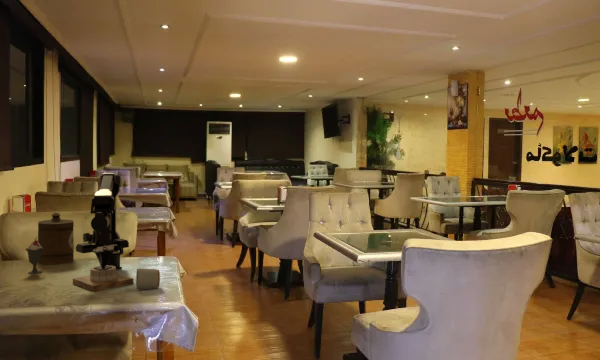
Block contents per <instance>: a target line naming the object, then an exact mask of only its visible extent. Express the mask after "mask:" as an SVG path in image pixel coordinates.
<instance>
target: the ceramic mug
mask: <svg viewBox="0 0 600 360" xmlns="http://www.w3.org/2000/svg"><path fill="white" fill-rule="evenodd" d="M160 278H161V272H160V270H159V269H157V268H136V277H135V280H136V281H135V282H136V283H135V286H136V290H137V291H139V290H140V291H141V290H142V291H143V290H153V289H154V290H155V289H158V288H159V287H160V282H161V279H160Z"/></svg>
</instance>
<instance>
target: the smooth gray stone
mask: <svg viewBox="0 0 600 360" xmlns="http://www.w3.org/2000/svg"><path fill="white" fill-rule="evenodd" d="M108 269H110V267H105V268H101V267H98V268H96V270H108Z"/></svg>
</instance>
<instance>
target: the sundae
mask: <svg viewBox="0 0 600 360" xmlns="http://www.w3.org/2000/svg"><path fill="white" fill-rule="evenodd" d="M42 249H44V248H42V247H41V246H40V244H39V243H38V236H37V237H36V236H35V238H34V240H33V242H31V243H30V245H29V246H28V247H27V248H25V251H26V252H27V256H28V263H30V264H31V265H32V269H31V271H29V272H28V273H27V274H29V275H38V274H41V273H42V271H40V270H38V269H37V265H38V264H40V263H39V262H40V259H41V252H42Z"/></svg>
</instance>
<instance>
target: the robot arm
mask: <svg viewBox="0 0 600 360" xmlns="http://www.w3.org/2000/svg"><path fill="white" fill-rule="evenodd" d="M99 186H100V188H99V190H98V191H96V192H95V193H94V195H93V197H91V206H90V214H94V217H93V218H92V219H91V221H90V227H91V229H92V230H93V231H92V233H91V234H90V232H84V233H83V235H82V240H83V242H84V243H81V242H80V243H77V244H76V246H75V252H76V253H79V254H80V253H81V254H89V253H94V255H96V258H97V259H98V260H97V261H98V262H99V266H101V268H105V266H106V265H108V266H115V267H116V270H118V269H119V270H121V269H122V268H123V267H122V266H121V256H122V255H124V249H125V248H129V247H130V243H129V240H128V239H125V238H121V235H120V234H119V233H118V231H117V197H118V195H119V193H120V192H121V188H122V186H123V180H122V176H121V175H117V174H116V173H114V172H104V173H101V175H100V176H99Z"/></svg>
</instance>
